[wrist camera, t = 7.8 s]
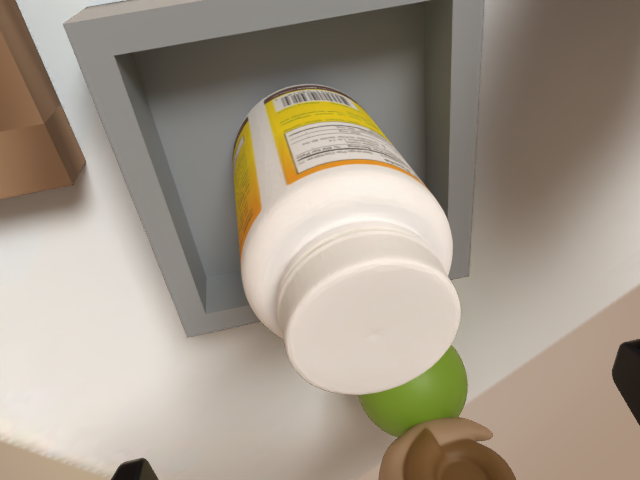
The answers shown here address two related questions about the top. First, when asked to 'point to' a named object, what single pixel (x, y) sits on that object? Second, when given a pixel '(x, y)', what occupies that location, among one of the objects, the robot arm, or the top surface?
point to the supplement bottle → (341, 243)
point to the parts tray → (249, 89)
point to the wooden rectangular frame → (30, 116)
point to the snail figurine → (433, 428)
